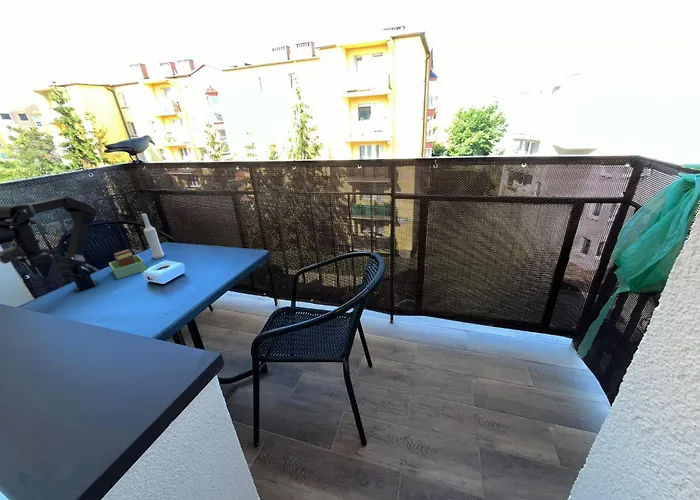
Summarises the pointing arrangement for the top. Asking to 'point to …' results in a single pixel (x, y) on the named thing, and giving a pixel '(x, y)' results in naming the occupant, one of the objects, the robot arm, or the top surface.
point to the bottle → (152, 239)
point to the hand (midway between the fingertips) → (40, 275)
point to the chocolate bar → (124, 258)
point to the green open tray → (128, 268)
